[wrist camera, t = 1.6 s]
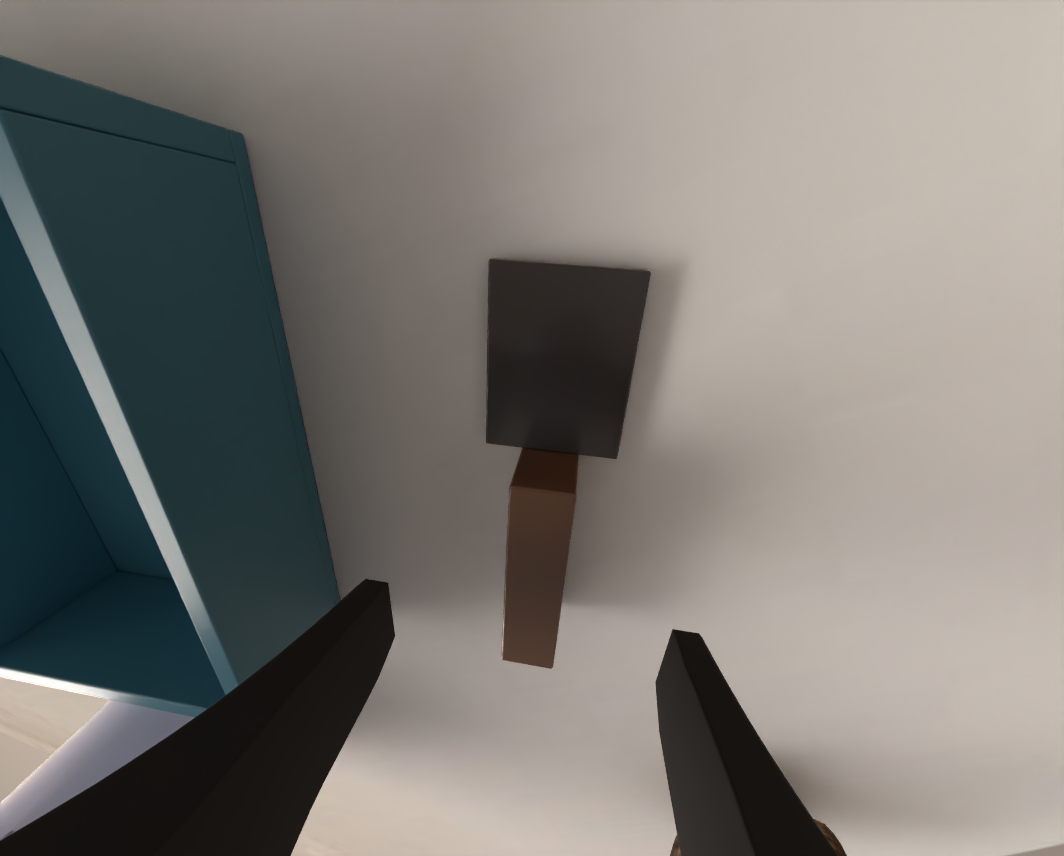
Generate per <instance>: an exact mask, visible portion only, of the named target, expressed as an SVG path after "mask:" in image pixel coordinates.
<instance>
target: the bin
mask: <svg viewBox="0 0 1064 856" xmlns="http://www.w3.org/2000/svg"><path fill="white" fill-rule="evenodd" d="M338 602H340V599H339V594H338V589H337V584H336V579H335V575H334V570H333V565H332V560H331V555H330V551H329V546H328V541H327V536H326V531H325V527H324V522H323V517H322V512H321V507H320V503H319V498H318V493H317V488H316V483H315V478H314V474H313V469H312V464H311V459H310V454H309V450H308V445H307V440H306V435H305V430H304V426H303V421H302V416H301V411H300V406H299V402H298V397H297V392H296V387H295V382H294V378H293V373H292V368H291V363H290V358H289V354H288V349H287V344H286V339H285V334H284V330H283V325H282V320H281V315H280V310H279V306H278V301H277V296H276V291H275V286H274V282H273V277H272V272H271V267H270V262H269V258H268V253H267V248H266V243H265V238H264V234H263V229H262V224H261V219H260V214H259V210H258V205H257V200H256V195H255V190H254V186H253V181H252V176H251V171H250V166H249V162H248V157H247V152H246V147H245V142H244V138H243V135H242V134H241V133H239V132H236V131H233V130H230V129H226V128H223V127H220V126H217V125H214V124H211V123H208V122H205V121H202V120H199V119H196V118H193V117H189V116H186V115H183V114H180V113H177V112H174V111H171V110H168V109H165V108H162V107H159V106H156V105H153V104H150V103H146V102H143V101H140V100H137V99H134V98H131V97H128V96H125V95H122V94H119V93H116V92H113V91H110V90H106V89H103V88H100V87H97V86H94V85H91V84H88V83H85V82H82V81H79V80H76V79H73V78H70V77H66V76H63V75H60V74H57V73H54V72H51V71H48V70H45V69H42V68H39V67H36V66H33V65H30V64H27V63H23V62H20V61H17V60H14V59H11V58H8V57H5V56H2V55H0V677H3V678H8V679H13V680H17V681H22V682H27V683H32V684H37V685H41V686H46V687H51V688H56V689H61V690H66V691H70V692H75V693H80V694H85V695H90V696H94V697H99V698H104V699H109V700H114V701H118V702H123V703H128V704H133V705H138V706H143V707H147V708H152V709H157V710H162V711H167V712H171V713H176V714H181V715H186V716H191V717H196V716H198V715H199V714H201V713H202V712H203V711H205V710H206V709H207V708H209V707H210V706H212V705H213V704H214V703H216V702H217V701H218V700H220V699H221V698H222V697H224V696H225V695H226V694H228V693H229V692H230V691H232V690H233V689H234V688H236V687H237V686H238V685H240V684H241V683H242V682H243V681H245V680H246V679H247V678H248V677H250V676H251V675H252V674H254V673H255V672H256V671H257V670H259V669H260V668H261V667H262V666H264V665H265V664H266V663H268V662H269V661H270V660H271V659H273V658H274V657H275V656H276V655H278V654H279V653H280V652H281V651H282V650H284V649H285V648H286V647H287V646H288V645H290V644H291V643H292V642H293V641H294V640H295V639H297V638H298V637H299V636H300V635H301V634H303V633H304V632H305V631H306V630H307V629H309V628H310V627H311V626H312V625H313V624H314V623H316V622H317V621H318V620H319V619H320V618H321V617H322V616H324V615H325V614H326V613H327V612H328V611H329V610H331V609H332V608H333V607H334V606H335V605H336V604H337V603H338Z"/></svg>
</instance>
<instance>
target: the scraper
mask: <svg viewBox="0 0 1064 856" xmlns="http://www.w3.org/2000/svg"><path fill="white" fill-rule="evenodd" d="M650 275H651V272H650V271H648V270H640V269H627V268H614V267H601V266H588V265H574V264H561V263H548V262H535V261H521V260H508V259H495V258H494V259H489V271H488V338H487V406H486V443H490V444H498V445H506V446H514V447H522V451H521V454H520V457H519V460H518V463H517V466H516V469H515V471H514V474H513V477H512V480H511V483H510V486H509V503H508V525H507V546H506V568H505V589H504V611H503V632H502V654H501V658H502V660H505V661H511V662H516V663H522V664H528V665H533V666H539V667H545V668H550V669H551V668H552V667H553V663H554V656H555V649H556V642H557V634H558V627H559V620H560V612H561V605H562V598H563V590H564V583H565V576H566V568H567V561H568V554H569V547H570V539H571V532H572V525H573V517H574V510H575V503H576V495H577V478H578V461H579V455H588V456H596V457H604V458H612V459H617V456H618V451H619V445H620V440H621V434H622V429H623V423H624V418H625V412H626V407H627V401H628V396H629V390H630V385H631V379H632V374H633V368H634V363H635V357H636V352H637V346H638V341H639V335H640V330H641V324H642V319H643V313H644V308H645V302H646V297H647V291H648V286H649V280H650Z"/></svg>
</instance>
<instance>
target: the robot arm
mask: <svg viewBox="0 0 1064 856" xmlns="http://www.w3.org/2000/svg"><path fill="white" fill-rule="evenodd" d="M394 637H395V632H394V624H393V616H392V609H391V601H390V594H389V586H388V583H387V582H381V581H375V580H369V579H365V580H364V581H362V582H361V583H360V584H359V585H358V586H357V587H355V588H354V589H353V590H352V591H351V592H350V593H349V594H348V595H346V596H345V597H344V598H343V599H342V600H341V601H340V602H338V603H337V604H336V605H335V606H334V607H333V608H332V609H331V610H329V611H328V612H327V613H326V614H325V615H324V616H322V617H321V618H320V619H319V620H318V621H317V622H316V623H314V624H313V625H312V626H311V627H310V628H309V629H307V630H306V631H305V632H304V633H303V634H301V635H300V636H299V637H298V638H297V639H295V640H294V641H293V642H292V643H291V644H290V645H288V646H287V647H286V648H285V649H284V650H282V651H281V652H280V653H279V654H278V655H276V656H275V657H274V658H273V659H271V660H270V661H269V662H268V663H266V664H265V665H264V666H262V667H261V668H260V669H259V670H257V671H256V672H255V673H254V674H252V675H251V676H250V677H248V678H247V679H246V680H245V681H243V682H242V683H241V684H240V685H238V686H237V687H236V688H234V689H233V690H232V691H230V692H229V693H228V694H226V695H225V696H224V697H222V698H221V699H220V700H218V701H217V702H216V703H214V704H213V705H212V706H210V707H209V708H207V709H206V710H205V711H203V712H202V713H201V714H199V715H198V716H196V717H191V716H186V715H181V714H176V713H171V712H167V711H162V710H157V709H152V708H147V707H143V706H138V705H133V704H128V703H123V702H118V701H114V700H109V701H108V702H107V703H106V704H105V705H104V706H103V707H102V708H101V709H100V710H99V711H98V712H97V713H96V714H95V715H93V716H92V717H91V718H90V719H89V720H88V721H87V722H86V723H85V724H84V725H83V726H82V727H81V728H80V729H79V730H77V731H76V732H75V733H74V734H73V735H72V736H71V737H70V738H69V739H68V740H67V741H66V742H65V743H64V744H63V745H62V746H60V747H59V748H58V749H57V750H56V751H55V752H54V753H53V754H52V755H51V756H50V757H49V758H48V759H47V760H46V761H45V762H43V763H42V764H41V765H40V766H39V767H38V768H37V769H36V770H35V771H34V772H33V773H32V774H31V775H30V776H29V777H28V778H27V779H25V780H24V781H23V782H22V783H21V784H20V785H19V786H18V787H17V788H16V789H15V790H14V791H13V792H12V793H11V794H10V795H8V796H7V797H6V798H5V799H4V800H3V801H2V802H1V803H0V856H291V853H292V851H293V849H294V846H295V844H296V842H297V840H298V837H299V835H300V833H301V830H302V828H303V826H304V823H305V821H306V819H307V817H308V814H309V812H310V810H311V808H312V805H313V803H314V801H315V799H316V797H317V795H318V793H319V791H320V789H321V787H322V785H323V783H324V781H325V779H326V777H327V775H328V773H329V771H330V770H331V768H332V766H333V764H334V762H335V760H336V758H337V756H338V754H339V752H340V751H341V749H342V747H343V745H344V743H345V741H346V739H347V737H348V735H349V733H350V732H351V730H352V728H353V726H354V724H355V722H356V720H357V718H358V716H359V714H360V712H361V711H362V709H363V707H364V705H365V703H366V701H367V699H368V697H369V695H370V693H371V691H372V689H373V687H374V685H375V683H376V681H377V680H378V677H379V675H380V673H381V670H382V668H383V665H384V663H385V660H386V658H387V655H388V653H389V650H390V648H391V645H392V642H393V640H394ZM656 695H657V709H658V720H659V732H660V738H661V744H662V750H663V756H664V761H665V767H666V773H667V779H668V784H669V790H670V796H671V801H672V807H673V813H674V818H675V824H676V830H677V835H678V841H679V847H680V852H681V856H839V855H838V854H837V852H836V851H835V850H834V848H833V847H832V845H831V844H830V843H829V841H828V840H827V838H826V837H825V836H824V834H823V833H822V831H821V830H820V828H819V827H818V826H817V824H816V823H815V821H814V820H813V818H812V817H811V815H810V814H809V812H808V811H807V810H806V808H805V807H804V805H803V804H802V802H801V801H800V799H799V798H798V796H797V795H796V793H795V792H794V790H793V789H792V787H791V786H790V784H789V783H788V781H787V780H786V778H785V777H784V775H783V773H782V772H781V770H780V769H779V767H778V766H777V764H776V763H775V761H774V759H773V758H772V756H771V755H770V753H769V752H768V750H767V748H766V747H765V745H764V744H763V742H762V740H761V739H760V737H759V735H758V734H757V732H756V731H755V729H754V727H753V726H752V724H751V722H750V721H749V719H748V718H747V716H746V714H745V713H744V711H743V709H742V708H741V706H740V704H739V702H738V701H737V699H736V697H735V696H734V694H733V692H732V690H731V689H730V687H729V685H728V683H727V682H726V680H725V678H724V676H723V675H722V673H721V671H720V669H719V667H718V666H717V664H716V662H715V660H714V658H713V657H712V655H711V653H710V651H709V649H708V647H707V646H706V644H705V642H704V640H703V638H702V637H701V636H700V634H698V633H692V632H686V631H680V630H674V629H673V630H672V633H671V636H670V639H669V642H668V645H667V648H666V652H665V655H664V658H663V661H662V664H661V667H660V670H659V673H658V676H657V679H656Z"/></svg>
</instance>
